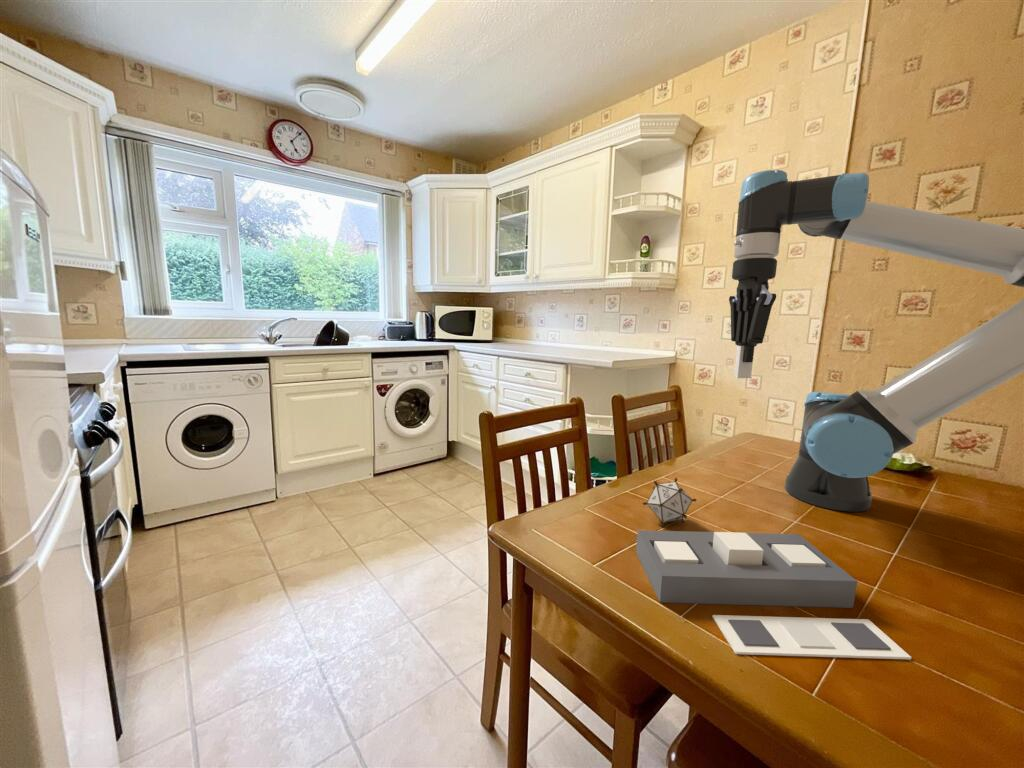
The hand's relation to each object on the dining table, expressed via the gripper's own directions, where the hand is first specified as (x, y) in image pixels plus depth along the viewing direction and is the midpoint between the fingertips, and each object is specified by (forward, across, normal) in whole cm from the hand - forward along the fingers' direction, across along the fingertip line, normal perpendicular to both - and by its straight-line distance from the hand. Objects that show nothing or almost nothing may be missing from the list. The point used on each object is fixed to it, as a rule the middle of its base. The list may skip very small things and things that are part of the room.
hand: (742, 377), depth 85 cm
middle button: (+23, +28, -13) cm, 39 cm away
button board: (+26, +28, -13) cm, 41 cm away
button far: (+25, +28, -22) cm, 44 cm away
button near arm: (+25, +28, -4) cm, 38 cm away
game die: (+27, +11, -17) cm, 33 cm away
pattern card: (+26, +39, -10) cm, 48 cm away
